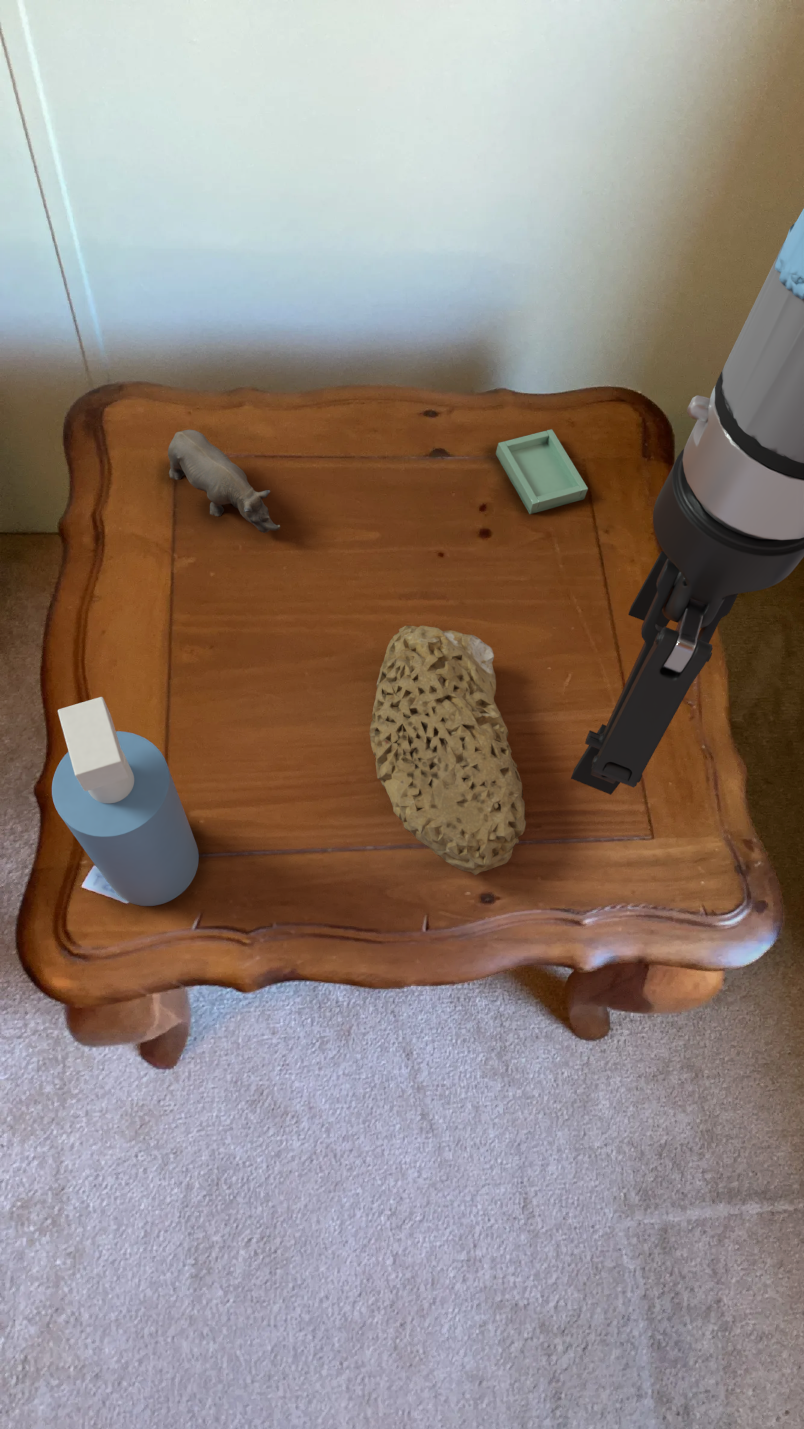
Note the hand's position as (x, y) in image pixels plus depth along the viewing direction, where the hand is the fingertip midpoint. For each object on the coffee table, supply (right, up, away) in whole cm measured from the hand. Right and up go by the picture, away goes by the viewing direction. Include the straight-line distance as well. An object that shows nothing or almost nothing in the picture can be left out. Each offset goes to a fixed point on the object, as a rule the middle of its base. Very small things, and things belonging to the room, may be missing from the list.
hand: (621, 696), depth 62 cm
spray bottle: (-34, -13, +9) cm, 37 cm away
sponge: (-11, -5, +15) cm, 19 cm away
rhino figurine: (-31, +18, +25) cm, 44 cm away
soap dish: (-1, +22, +29) cm, 37 cm away
